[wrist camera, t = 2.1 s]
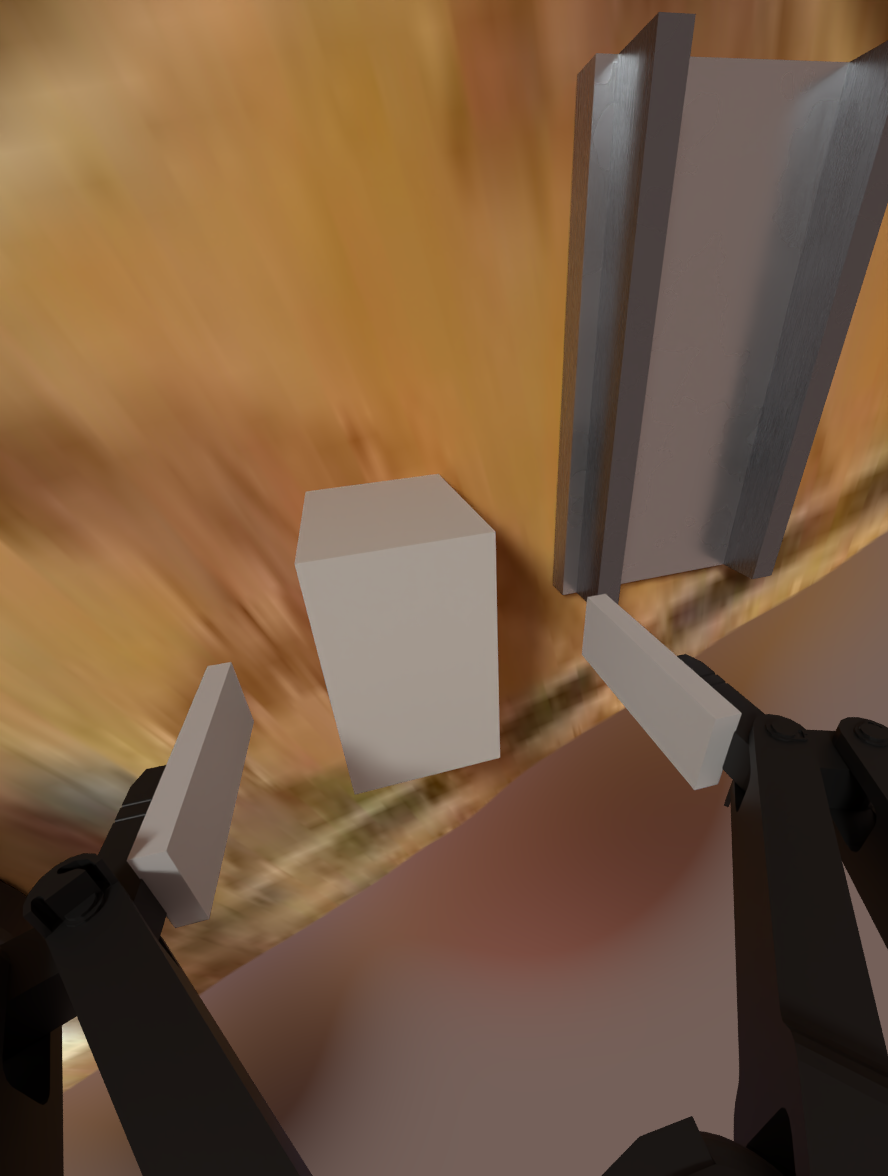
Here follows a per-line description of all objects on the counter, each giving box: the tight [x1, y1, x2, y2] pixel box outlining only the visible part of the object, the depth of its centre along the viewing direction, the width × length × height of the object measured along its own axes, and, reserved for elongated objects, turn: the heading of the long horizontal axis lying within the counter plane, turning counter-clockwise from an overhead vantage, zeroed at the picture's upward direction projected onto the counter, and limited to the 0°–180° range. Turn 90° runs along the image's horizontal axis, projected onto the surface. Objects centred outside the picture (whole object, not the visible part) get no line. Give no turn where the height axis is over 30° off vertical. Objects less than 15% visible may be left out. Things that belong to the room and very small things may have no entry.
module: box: [295, 474, 500, 794], centre depth 19 cm, size 6×10×8 cm, turn 5°
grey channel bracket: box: [553, 12, 888, 604], centre depth 20 cm, size 12×20×3 cm, turn 5°
